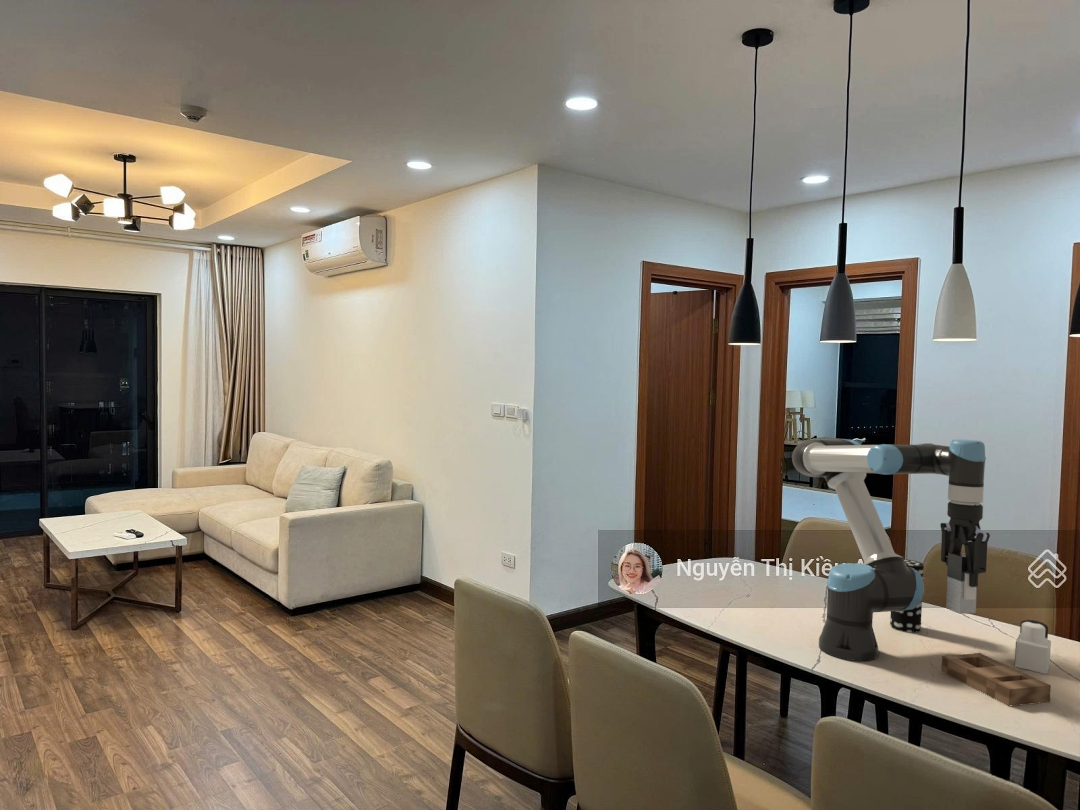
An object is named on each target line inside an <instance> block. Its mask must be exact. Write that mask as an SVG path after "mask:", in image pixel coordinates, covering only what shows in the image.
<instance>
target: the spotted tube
mask: <svg viewBox="0 0 1080 810" xmlns="http://www.w3.org/2000/svg"><path fill="white" fill-rule="evenodd" d="M903 559H904V558H903ZM904 562H905V564H906V566H907V567H911V568H914V569H915V570H917V571H918V572H919V574H920V575H921V577H922V579H923V580H924V570H925V569H924V567H925V565H924V563H923V562H920V561H917V560H912V559H904ZM922 607H923V600H922V601H921V602H920V604H919V605H918V606H917V607H916V608H914V609H910V610H904V611H890V619H889V620H890V621H889V622H890V623H889V625H890V627H891V629H894V630H895V631H900V632H905V633H919V632H921V630H922V609H923V608H922Z"/></svg>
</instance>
